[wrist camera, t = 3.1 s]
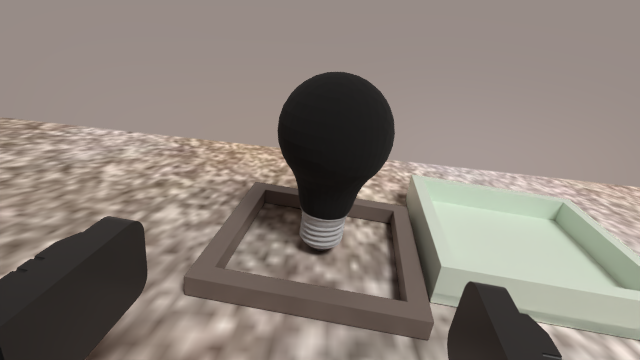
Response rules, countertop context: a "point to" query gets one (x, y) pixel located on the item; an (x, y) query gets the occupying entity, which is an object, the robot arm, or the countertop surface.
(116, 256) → the robot arm
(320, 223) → the light bulb
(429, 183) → the parts tray
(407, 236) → the brown square frame
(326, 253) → the countertop surface
